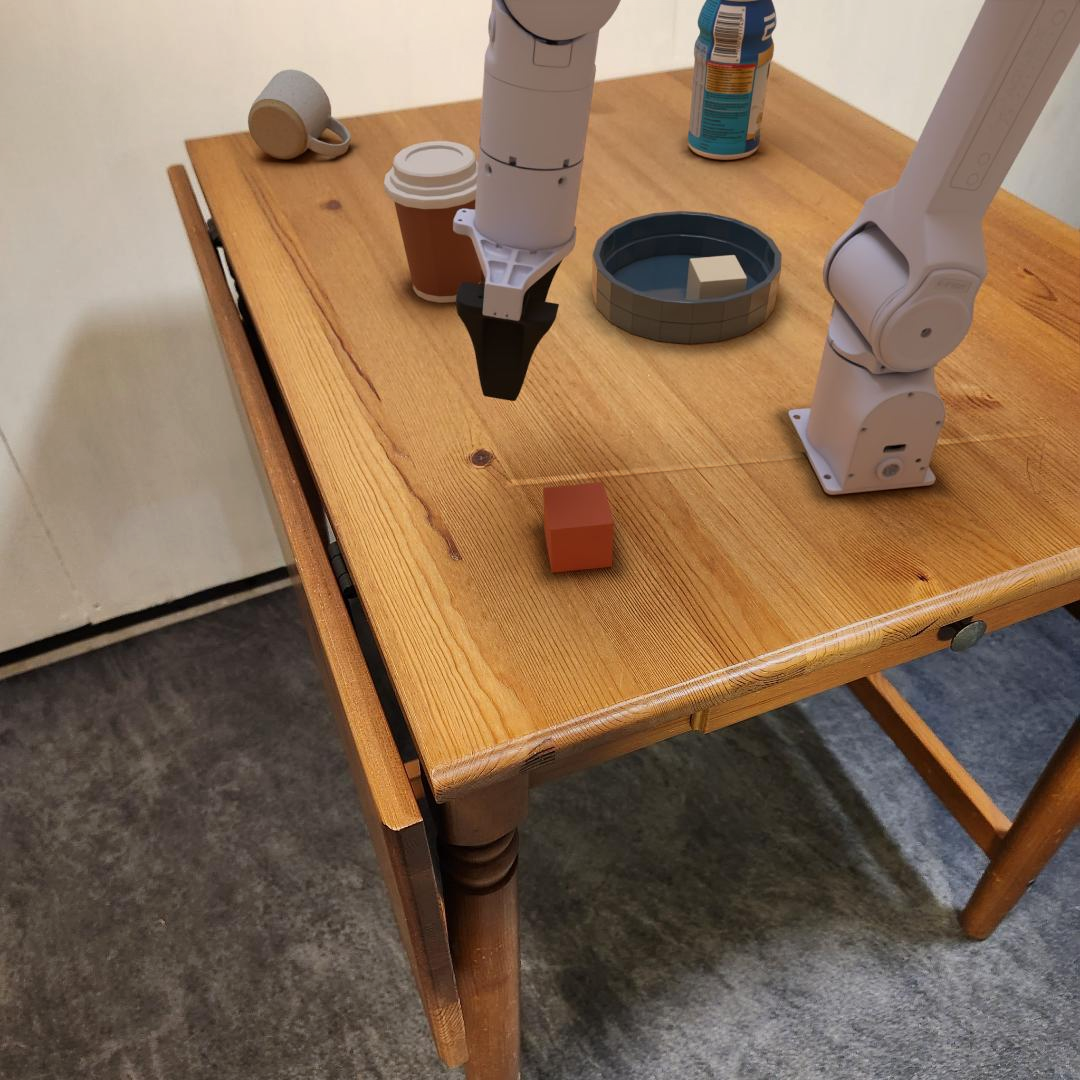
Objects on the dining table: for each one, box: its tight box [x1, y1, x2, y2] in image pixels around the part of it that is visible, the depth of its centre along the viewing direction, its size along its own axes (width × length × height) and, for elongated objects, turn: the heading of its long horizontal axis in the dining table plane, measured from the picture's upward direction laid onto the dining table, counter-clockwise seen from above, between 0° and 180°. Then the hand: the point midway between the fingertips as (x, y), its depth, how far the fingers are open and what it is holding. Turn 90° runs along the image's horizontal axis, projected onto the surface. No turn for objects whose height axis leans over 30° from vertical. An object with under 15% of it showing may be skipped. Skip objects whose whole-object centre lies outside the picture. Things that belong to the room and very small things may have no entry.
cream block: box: [686, 255, 747, 300], centre depth 81 cm, size 4×4×4 cm
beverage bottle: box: [687, 0, 777, 161], centre depth 102 cm, size 8×8×20 cm
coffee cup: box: [383, 140, 482, 304], centre depth 84 cm, size 9×9×12 cm
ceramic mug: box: [247, 69, 352, 160], centre depth 108 cm, size 11×8×8 cm
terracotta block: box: [542, 481, 615, 574], centre depth 62 cm, size 4×4×4 cm
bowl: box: [591, 210, 783, 345], centre depth 84 cm, size 16×16×4 cm
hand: (509, 362), depth 60 cm, fingers open, 7 cm apart
